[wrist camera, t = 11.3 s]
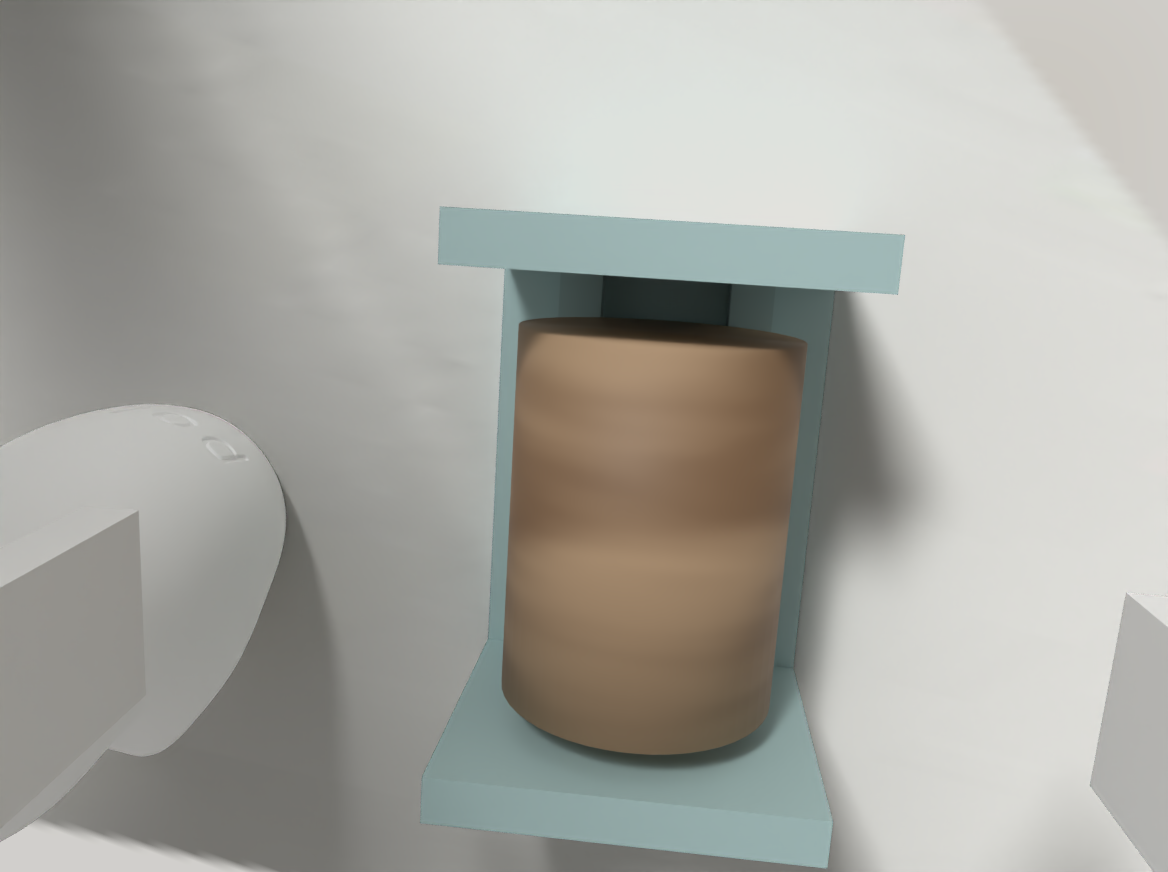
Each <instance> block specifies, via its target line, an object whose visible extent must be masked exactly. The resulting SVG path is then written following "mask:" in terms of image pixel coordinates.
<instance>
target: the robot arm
mask: <svg viewBox="0 0 1168 872" xmlns="http://www.w3.org/2000/svg"><path fill="white" fill-rule="evenodd" d="M145 695H146V683H145V658H144V632H143V606H142V581H141V555H140V530H139V510H129V509H117V508H105V507H93V506H84V507H82V508H80V509H78V510H76V511H74V512H72V513H70V514H68V515H66V516H64V517H62V518H60V519H58V520H56V521H54V522H52V523H50V524H48V525H46V526H44V527H42V528H40V529H38V530H36V531H34V532H32V533H30V534H28V535H26V536H24V537H22V538H20V539H18V540H16V541H14V542H12V543H10V544H8V545H6V546H4V547H2V548H0V829H1V828H2V827H3V826H4V825H5V824H6V823H7V822H8V821H10V820H11V819H12V818H13V817H14V816H15V815H16V814H17V813H18V812H19V811H20V810H22V809H23V808H24V807H25V806H26V805H27V804H28V803H29V802H30V801H31V800H32V799H33V798H35V797H36V796H37V795H38V794H39V793H40V792H41V791H42V790H43V789H44V788H45V787H47V786H48V785H49V784H50V783H51V782H52V781H53V780H54V779H55V778H56V777H57V776H58V775H60V774H61V773H62V772H63V771H64V770H65V769H66V768H67V767H68V766H69V765H70V764H72V763H73V762H74V761H75V760H76V759H77V758H78V757H79V756H80V755H81V754H82V753H83V752H85V751H86V750H87V749H88V748H89V747H90V746H91V745H92V744H93V743H94V742H95V741H96V740H98V739H99V738H100V737H101V736H102V735H103V734H104V733H105V732H106V731H107V730H108V729H110V728H111V727H112V726H113V725H114V724H115V723H116V722H117V721H118V720H119V719H120V718H121V717H123V716H124V715H125V714H126V713H127V712H128V711H129V710H130V709H131V708H132V707H133V706H135V705H136V704H137V703H138V702H139V701H140V700H141V699H142V698H143V697H144V696H145ZM1090 787H1091V788H1092V789H1093V791H1094V792H1095V793H1096V795H1097V796H1098V797H1099V799H1100V800H1101V801H1102V803H1103V804H1104V806H1105V807H1106V808H1107V810H1108V811H1109V812H1110V814H1111V815H1112V816H1113V818H1114V819H1115V820H1116V822H1117V823H1118V824H1119V826H1120V827H1121V829H1122V830H1123V831H1124V833H1125V834H1126V835H1127V837H1128V838H1129V839H1130V841H1131V842H1132V843H1133V845H1134V846H1135V848H1136V849H1137V850H1138V852H1139V853H1140V854H1141V856H1142V857H1143V858H1144V860H1145V861H1146V862H1147V864H1148V865H1149V866H1150V868H1151V869H1152V871H1153V872H1168V596H1160V595H1148V594H1136V593H1126V596H1125V601H1124V607H1123V612H1122V617H1121V623H1120V628H1119V633H1118V638H1117V644H1116V649H1115V654H1114V660H1113V665H1112V670H1111V676H1110V681H1109V686H1108V692H1107V697H1106V702H1105V707H1104V713H1103V718H1102V723H1101V729H1100V734H1099V739H1098V745H1097V750H1096V755H1095V760H1094V766H1093V771H1092V776H1091V782H1090Z"/></svg>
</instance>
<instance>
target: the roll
mask: <svg viewBox="0 0 1168 872" xmlns="http://www.w3.org/2000/svg"><path fill="white" fill-rule="evenodd" d="M807 347H808V344H807V342H805V341H804V340H801V339H798V338H795V337H791V336H787V335H783V334H778V333H772V332H766V331H760V330H754V329H746V328H739V327H731V326H722V325H713V324H703V323H692V322H680V321H667V320H652V319H634V318H607V317H555V318H539V319H530V320H525V321H522V322H520V323H519V328H518V348H517V369H516V390H515V411H514V431H513V452H512V473H511V494H510V515H509V535H508V556H507V577H506V598H505V618H504V639H503V660H502V691H503V694H504V697H505V698H506V700H507V702H508V703H509V705H510V706H511V707H512V708H513V709H514V710H515V711H516V712H517V713H518V714H519V715H520V716H522V717H523V718H524V719H525V720H527V721H528V722H530V723H532V724H533V725H535V726H536V727H538V728H540V729H542V730H544V731H546V732H548V733H550V734H553V735H555V736H558V737H560V738H563V739H566V740H568V741H571V742H575V743H578V744H582V745H585V746H589V747H594V748H599V749H603V750H609V751H616V752H623V753H633V754H646V755H670V754H686V753H693V752H700V751H706V750H710V749H714V748H719V747H722V746H725V745H728V744H731V743H734V742H736V741H738V740H740V739H742V738H744V737H746V736H748V735H749V734H751V733H752V732H754V731H755V730H756V729H757V728H758V727H759V726H760V725H761V724H762V723H763V722H764V720H765V718H766V717H767V714H768V711H769V706H770V696H771V687H772V677H773V668H774V658H775V649H776V640H777V630H778V621H779V611H780V602H781V592H782V583H783V574H784V564H785V555H786V545H787V536H788V526H789V517H790V508H791V498H792V489H793V479H794V470H795V460H796V451H797V442H798V432H799V423H800V413H801V404H802V394H803V385H804V375H805V366H806V357H807Z"/></svg>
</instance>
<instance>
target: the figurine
mask: <svg viewBox="0 0 1168 872" xmlns="http://www.w3.org/2000/svg"><path fill="white" fill-rule="evenodd" d="M84 506H93V507H105V508H117V509H129V510H139V530H140V555H141V581H142V606H143V632H144V658H145V683H146V695H145V696H144V697H143V698H142V699H141V700H140V701H139V702H138V703H137V704H136V705H135V706H133V707H132V708H131V709H130V710H129V711H128V712H127V713H126V714H125V715H124V716H123V717H121V718H120V719H119V720H118V721H117V722H116V723H115V724H114V725H113V726H112V727H111V728H110V729H108V730H107V731H106V732H105V733H104V734H103V735H102V736H101V737H100V738H99V739H98V740H96V741H95V742H94V743H93V744H92V745H91V746H90V747H89V748H88V749H87V750H86V751H85V752H83V753H82V754H81V755H80V756H79V757H78V758H77V759H76V760H75V761H74V762H73V763H72V764H70V765H69V766H68V767H67V768H66V769H65V770H64V771H63V772H62V773H61V774H60V775H58V776H57V777H56V778H55V779H54V780H53V781H52V782H51V783H50V784H49V785H48V786H47V787H45V788H44V789H43V790H42V791H41V792H40V793H39V794H38V795H37V796H36V797H35V798H33V799H32V800H31V801H30V802H29V803H28V804H27V805H26V806H25V807H24V808H23V809H22V810H20V811H19V812H18V813H17V814H16V815H15V816H14V817H13V818H12V819H11V820H10V821H8V822H7V823H6V824H5V825H4V826H3V827H2V828H1V829H0V842H1V841H3V840H4V839H6V838H8V837H10V836H12V835H13V834H15V833H17V832H18V831H20V830H22V829H23V828H24V827H26V826H28V825H29V824H31V823H32V822H34V821H35V820H36V819H38V818H39V817H40V816H42V815H43V814H44V813H45V812H47V811H48V810H49V809H50V808H52V807H53V806H54V805H55V804H56V803H57V802H58V801H60V800H61V799H62V798H63V797H64V796H65V795H66V794H67V793H68V792H69V791H70V790H71V789H72V788H73V787H74V786H75V785H76V784H77V783H78V782H79V781H80V780H81V778H82V777H83V776H84V775H85V774H86V773H87V772H88V771H89V770H90V768H91V767H92V766H93V765H94V764H95V763H96V762H97V760H98V759H99V758H100V757H101V756H102V755H103V753H104V752H105V751H106V750H107V749H110V750H114V751H119V752H122V753H125V754H129V755H134V756H140V757H144V756H150V755H155V754H157V753H160V752H161V751H163V750H165V749H166V748H168V747H169V746H171V745H172V744H173V743H174V742H175V741H176V740H177V739H178V738H180V737H181V736H182V735H183V734H184V733H185V732H186V730H187V729H188V728H189V727H190V726H191V725H192V724H193V723H194V721H195V720H196V719H197V718H198V717H199V715H200V714H201V713H202V712H203V711H204V710H205V709H206V707H207V706H208V705H209V704H210V702H211V701H212V700H213V699H214V697H215V696H216V695H217V693H218V692H219V691H220V689H221V688H222V687H223V685H224V684H225V682H226V681H227V680H228V678H229V677H230V675H231V674H232V672H233V670H234V669H235V667H236V665H237V663H238V662H239V660H240V658H241V657H242V654H243V652H244V650H245V648H246V646H247V644H248V642H249V640H250V638H251V635H252V633H253V630H254V628H255V625H256V623H257V621H258V618H259V615H260V613H261V610H262V607H263V605H264V602H265V600H266V597H267V594H268V591H269V589H270V586H271V584H272V581H273V578H274V575H275V572H276V570H277V567H278V563H279V560H280V557H281V553H282V549H283V544H284V539H285V532H286V508H285V502H284V497H283V493H282V489H281V486H280V483H279V481H278V478H277V476H276V474H275V472H274V470H273V468H272V466H271V464H270V463H269V461H268V459H267V458H266V457H265V455H264V454H263V452H262V451H261V450H260V449H259V447H258V446H257V445H256V444H255V443H254V442H253V441H252V440H251V439H250V438H249V437H248V436H247V435H246V434H244V433H243V432H242V431H241V430H239V429H238V428H237V427H235V426H234V425H232V424H231V423H229V422H227V421H226V420H224V419H222V418H220V417H218V416H215V415H213V414H211V413H208V412H205V411H201V410H198V409H193V408H188V407H182V406H175V405H164V404H139V405H127V406H119V407H113V408H108V409H100V410H95V411H92V412H87V413H83V414H80V415H76V416H72V417H69V418H66V419H63V420H60V421H57V422H54V423H51V424H48V425H46V426H43V427H40V428H38V429H36V430H33V431H31V432H29V433H26V434H24V435H22V436H20V437H18V438H16V439H14V440H12V441H10V442H8V443H6V444H4V445H2V446H0V548H2V547H4V546H6V545H8V544H10V543H12V542H14V541H16V540H18V539H20V538H22V537H24V536H26V535H28V534H30V533H32V532H34V531H36V530H38V529H40V528H42V527H44V526H46V525H48V524H50V523H52V522H54V521H56V520H58V519H60V518H62V517H64V516H66V515H68V514H70V513H72V512H74V511H76V510H78V509H80V508H82V507H84Z"/></svg>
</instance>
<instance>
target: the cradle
mask: <svg viewBox="0 0 1168 872" xmlns="http://www.w3.org/2000/svg"><path fill="white" fill-rule="evenodd" d="M904 240H905V235H897V234H881V233H865V232H848V231H832V230H816V229H799V228H783V227H767V226H751V225H734V224H718V223H702V222H685V221H669V220H653V219H636V218H620V217H604V216H588V215H571V214H555V213H539V212H522V211H506V210H490V209H473V208H457V207H441V206H440V217H439V249H438V264H443V265H458V266H473V267H488V268H503V269H505V275H504V298H503V320H502V342H501V365H500V387H499V409H498V432H497V454H496V476H495V498H494V521H493V543H492V565H491V588H490V610H489V632H488V640H487V642H486V644H485V646H484V649H483V651H482V653H481V655H480V657H479V659H478V661H477V663H476V665H475V667H474V669H473V672H472V674H471V676H470V678H469V680H468V682H467V684H466V686H465V688H464V690H463V692H462V695H461V697H460V699H459V701H458V703H457V705H456V707H455V709H454V711H453V713H452V715H451V718H450V720H449V722H448V724H447V726H446V728H445V730H444V732H443V734H442V736H441V738H440V740H439V743H438V745H437V747H436V749H435V751H434V753H433V755H432V757H431V759H430V761H429V763H428V766H427V768H426V770H425V772H424V774H423V776H422V786H421V817H420V823H423V824H432V825H441V826H450V827H459V828H468V829H477V830H486V831H495V832H504V833H513V834H521V835H530V836H539V837H548V838H557V839H566V840H575V841H584V842H593V843H602V844H611V845H620V846H629V847H638V848H647V849H656V850H665V851H674V852H683V853H692V854H701V855H710V856H719V857H728V858H737V859H745V860H754V861H763V862H772V863H781V864H790V865H799V866H808V867H817V868H826V869H827V867H828V859H829V851H830V843H831V835H832V827H833V820H832V816H831V812H830V808H829V804H828V800H827V796H826V793H825V789H824V785H823V781H822V777H821V773H820V769H819V766H818V762H817V758H816V754H815V750H814V746H813V742H812V738H811V735H810V731H809V727H808V723H807V719H806V715H805V711H804V707H803V704H802V700H801V696H800V692H799V688H798V684H797V680H796V677H795V673H794V669H793V666H794V657H795V648H796V639H797V630H798V621H799V612H800V603H801V594H802V585H803V576H804V567H805V557H806V548H807V539H808V530H809V521H810V512H811V503H812V494H813V485H814V476H815V467H816V458H817V449H818V440H819V431H820V421H821V412H822V403H823V394H824V385H825V376H826V367H827V358H828V349H829V340H830V331H831V322H832V313H833V304H834V295H835V290H836V291H852V292H867V293H882V294H897V295H898V289H899V281H900V273H901V265H902V257H903V248H904ZM555 317H607V318H634V319H652V320H667V321H680V322H692V323H703V324H713V325H722V326H731V327H739V328H746V329H754V330H760V331H766V332H772V333H778V334H783V335H787V336H791V337H795V338H798V339H801V340H804V341H805V342H807V344H808V347H807V357H806V366H805V375H804V385H803V394H802V404H801V413H800V423H799V432H798V442H797V451H796V460H795V470H794V479H793V489H792V498H791V508H790V517H789V526H788V536H787V545H786V555H785V564H784V574H783V583H782V592H781V602H780V611H779V621H778V630H777V640H776V649H775V658H774V668H773V677H772V687H771V696H770V706H769V711H768V714H767V717H766V718H765V720H764V722H763V723H762V724H761V725H760V726H759V727H758V728H757V729H756V730H755V731H754V732H752V733H751V734H749V735H748V736H746V737H744V738H742V739H740V740H738V741H736V742H734V743H731V744H728V745H725V746H722V747H719V748H714V749H710V750H706V751H700V752H693V753H686V754H670V755H646V754H633V753H623V752H616V751H609V750H603V749H599V748H594V747H589V746H585V745H582V744H578V743H575V742H571V741H568V740H566V739H563V738H560V737H558V736H555V735H553V734H550V733H548V732H546V731H544V730H542V729H540V728H538V727H536V726H535V725H533V724H532V723H530V722H528V721H527V720H525V719H524V718H523V717H522V716H520V715H519V714H518V713H517V712H516V711H515V710H514V709H513V708H512V707H511V706H510V705H509V703H508V702H507V700H506V698H505V697H504V694H503V691H502V660H503V639H504V618H505V598H506V577H507V556H508V535H509V515H510V494H511V473H512V452H513V431H514V411H515V390H516V369H517V348H518V328H519V323H520V322H522V321H525V320H530V319H539V318H555Z"/></svg>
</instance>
